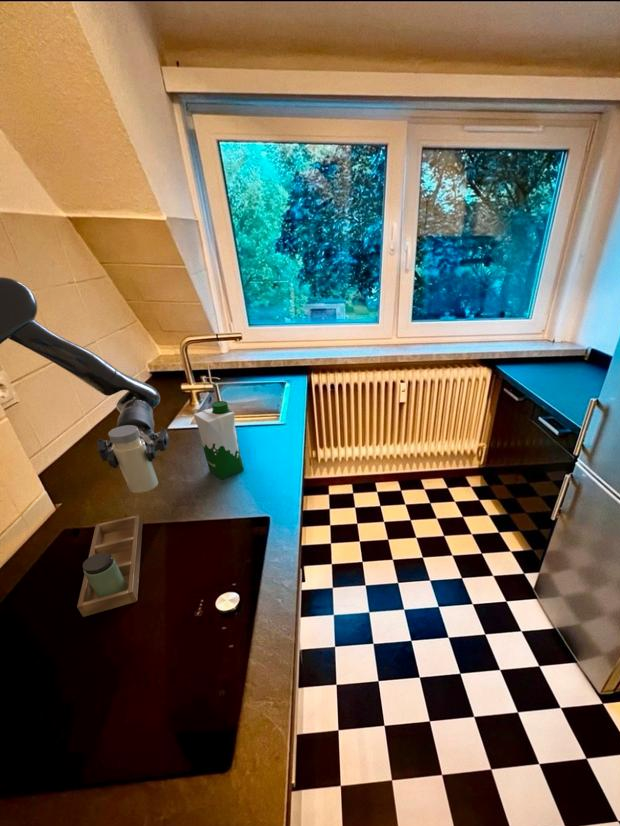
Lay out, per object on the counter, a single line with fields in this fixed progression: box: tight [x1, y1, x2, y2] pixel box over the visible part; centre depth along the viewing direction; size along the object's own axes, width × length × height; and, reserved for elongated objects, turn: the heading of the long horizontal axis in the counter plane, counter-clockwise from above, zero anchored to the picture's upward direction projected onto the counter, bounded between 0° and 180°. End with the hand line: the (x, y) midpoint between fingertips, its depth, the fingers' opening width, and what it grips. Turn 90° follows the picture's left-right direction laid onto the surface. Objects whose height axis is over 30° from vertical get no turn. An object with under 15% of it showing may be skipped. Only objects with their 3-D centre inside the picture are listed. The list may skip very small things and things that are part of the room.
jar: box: [107, 425, 159, 494], centre depth 79 cm, size 6×6×13 cm
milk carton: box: [193, 400, 245, 480], centre depth 107 cm, size 9×9×20 cm
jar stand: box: [76, 514, 143, 618], centre depth 80 cm, size 9×25×3 cm, turn 23°
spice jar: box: [82, 553, 127, 598], centre depth 72 cm, size 5×5×8 cm
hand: (131, 460), depth 77 cm, fingers closed on jar, 6 cm apart
